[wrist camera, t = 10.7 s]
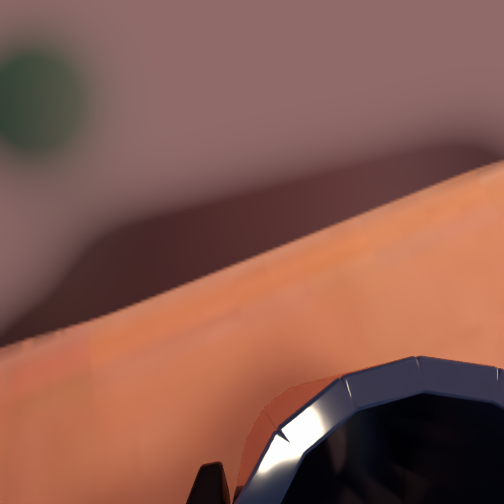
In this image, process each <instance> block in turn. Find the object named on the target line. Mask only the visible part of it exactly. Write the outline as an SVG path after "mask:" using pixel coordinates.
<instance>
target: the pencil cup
mask: <svg viewBox="0 0 504 504" xmlns="http://www.w3.org/2000/svg"><path fill="white" fill-rule="evenodd" d="M232 504H504V369H501V368H496V367H494V366H490V365H483V364H476V363H469V362H462V361H455V360H448V359H441V358H434V357H427V356H417V357H414V356H410V357H406V358H402V359H398V360H394V361H390V362H386V363H382V364H379V365H375V366H371V367H367V368H363V369H359V370H355V371H351V372H347V373H343V374H339V375H335V376H331V377H327V378H323V379H319V380H315V381H311V382H308V383H304V384H300V385H297V386H293V387H290V388H288V389H287V390H285V391H284V392H283V393H281V394H280V395H278V396H277V397H276V398H274V399H273V400H272V401H271V402H270V403H269V404H268V405H267V406H265V407H264V409H263V410H262V411H261V413H260V415H259V416H258V418H257V419H256V421H255V422H254V424H253V427H252V429H251V431H250V433H249V435H248V436H247V438H246V442H245V446H244V450H243V455H242V460H241V465H240V470H239V474H238V479H237V484H236V489H235V494H234V498H233V503H232Z"/></svg>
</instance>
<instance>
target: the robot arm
mask: <svg viewBox="0 0 504 504" xmlns="http://www.w3.org/2000/svg"><path fill="white" fill-rule="evenodd" d="M186 504H230V495H229V489H228V485H227V481H226V477H225V473H224V469H223V465H222V463H221V462H218V461H217V462H212V463H207V464H203V465H202V466H201V467H200V469H199V471H198V473H197V476H196V479H195V481H194V484H193V486H192V489H191V492H190V494H189V497H188V499H187V502H186Z"/></svg>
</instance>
